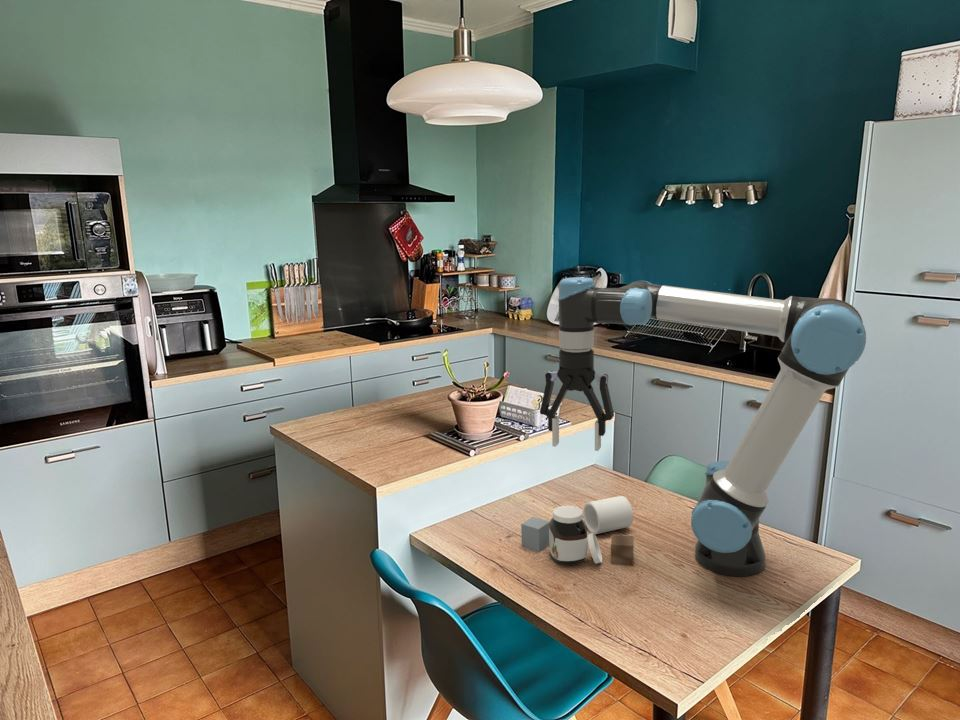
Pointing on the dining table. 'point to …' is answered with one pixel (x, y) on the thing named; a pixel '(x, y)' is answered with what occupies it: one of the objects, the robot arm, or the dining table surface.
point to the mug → (608, 514)
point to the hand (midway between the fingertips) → (576, 446)
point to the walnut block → (622, 550)
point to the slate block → (535, 534)
